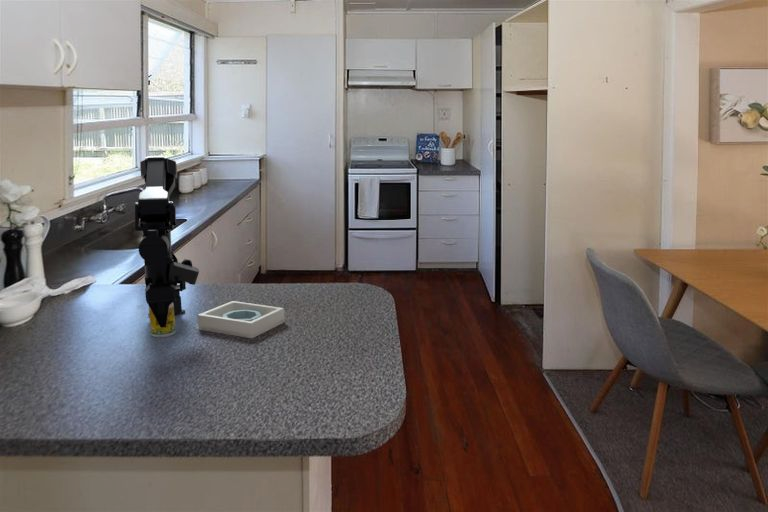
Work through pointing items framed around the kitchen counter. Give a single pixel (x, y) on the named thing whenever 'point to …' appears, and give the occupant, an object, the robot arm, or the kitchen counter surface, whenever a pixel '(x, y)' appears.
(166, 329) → the supplement bottle
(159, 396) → the kitchen counter surface
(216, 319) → the socket box
